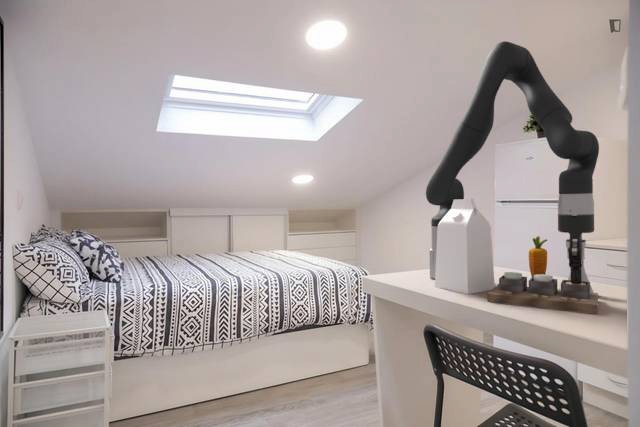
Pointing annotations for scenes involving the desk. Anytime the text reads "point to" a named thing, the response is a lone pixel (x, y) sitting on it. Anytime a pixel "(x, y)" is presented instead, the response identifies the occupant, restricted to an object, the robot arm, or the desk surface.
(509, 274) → the sage button
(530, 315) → the desk surface
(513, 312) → the desk surface
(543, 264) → the carrot
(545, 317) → the desk surface
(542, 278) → the grey button
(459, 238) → the milk
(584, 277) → the flask
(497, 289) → the button board
